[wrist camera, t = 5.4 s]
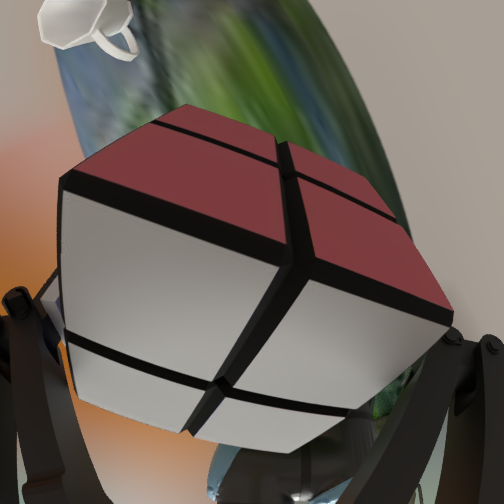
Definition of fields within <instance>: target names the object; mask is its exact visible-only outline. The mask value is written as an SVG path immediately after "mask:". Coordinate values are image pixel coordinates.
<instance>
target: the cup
mask: <svg viewBox="0 0 504 504" xmlns="http://www.w3.org/2000/svg"><path fill="white" fill-rule="evenodd" d="M133 16H134V14H133V10H132V6H131V2H130V1H127V0H44V3H43V5H42V7H41V9H40V11H39V13H38V15H37V20H38V25H39V31H40V36H41V41H42V42H44V43H47V44H50V45H52V46H55V47H57V48H60V49H62V50H63V49H67V48H70V47H74V46H77V45H81V44H85V43H89V42H93V41H95V42H96V43H97V44H98V45H99V46H100V47H101V48H102V49H103V50H104V51H105V52H106V53H108V54H110V55H111V56H113V57H115V58H117V59H120V60H124V61H132V60H133V59H134V58H135V57H136V56H137V55H139V54H140V50H139V47H138V44H137V42H136V39H135V37H134V35H133V34H132V32H131V30H130V29H129V28H128V27H127V26H128V24H129V22H130V21H131V19H132V17H133ZM119 32H121V33H122V34H123V35H124V37H125V39H126V41H127V43H128V46H129V48H130V51H131V53H130V52H127V51H124V50H122V49H120V48H119V47H117V46H115V45H114V44H113V43H112V42H110V41H109V39H108V38H107V37H106V36H112V35H115V34H117V33H119Z"/></svg>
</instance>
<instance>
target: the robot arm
mask: <svg viewBox="0 0 504 504" xmlns="http://www.w3.org/2000/svg"><path fill="white" fill-rule="evenodd" d="M2 304H3V306H4V308H5V309H6V312H7V313H8V315H6V316H1V315H0V504H19V494H18V480H17V432H18V438H19V443H20V448H21V453H22V457H23V461H24V466H25V470H26V474H27V482H26V483H25V484H23V486H22V495H23V499H24V502H25V504H114V503H113V502H112V501H111V500H110V499H109V498H108V496H107V495H106V494H105V492H104V490H103V488H102V486H101V483H100V481H99V479H98V476H97V474H96V471H95V469H94V466H93V464H92V461H91V458H90V456H89V453H88V450H87V448H86V445H85V442H84V439H83V436H82V433H81V430H80V427H79V424H78V420H77V417H76V413H75V410H74V406H73V403H72V399H71V395H70V391H69V388H68V383H67V379H66V374H65V370H64V365H63V360H62V355H61V351H60V349H59V347H58V344H59V342H60V340H62V342H63V343H64V345H65V339H64V332H63V329H64V327H65V325H64V322H63V320H62V316H61V308H60V297H59V285H58V269H57V268H56V269H55V271H54V272H53V273H52V275H51V277H50V278H49V279H48V280H47V281H46V283H45V284H44V285H43V287H42V288H41V289H40V291H39V292H38V293H37V295H36V296H35V298H34V299H33V300H32V298H31V296H30V294H29V291H28V289H27V288H25V287H23V286H19V287H15V288H13V289H11V290H10V291H9V292H8V293H6V294H5V296H4V297H3V299H2ZM65 346H66V345H65ZM411 367H412V369H411V371H410V372H409V374H408V375H407V376H406V378H405V379H404V381H403V382H402V385H403V387H402V389H401V392H400V394H399V396H398V398H397V400H396V402H395V404H394V406H393V408H392V410H391V412H390V414H389V416H388V418H387V420H386V422H385V424H384V426H383V428H382V430H381V431H380V433H379V435H378V437H377V434H376V429H375V424H374V418H373V408H374V401H375V396H374V397H373V398H371V399H370V400H369V401H367V402H366V403H365V404H363V405H362V406H361V407H359V408H358V409H352V411H351V412H350V414H349V415H348V416H347V417H346V418H345V419H343V420H342V421H340V422H339V423H337V424H336V425H334V426H333V427H331V428H330V429H328V430H327V431H325V432H324V433H322V434H320V435H319V436H317V437H316V438H314V439H312V440H311V441H309V442H307V443H306V444H304V445H302V446H301V447H299V448H297V449H296V450H294V451H292V452H290V453H279V452H271V451H263V450H256V449H250V448H243V447H238V446H232V445H227V444H221V443H219V444H218V446H217V447H216V450H215V452H214V455H213V457H212V461H211V464H210V468H209V474H208V479H207V484H208V486H207V495H208V497H209V498H210V499H212V500H214V501H217V504H294V502H298V501H309V502H308V504H408V503H409V501H410V499H411V497H412V495H413V493H414V491H415V490H416V487H417V485H418V483H419V481H420V479H421V477H422V475H423V473H424V471H425V468H426V466H427V464H428V461H429V459H430V457H431V454H432V451H433V449H434V447H435V444H436V442H437V439H438V436H439V434H440V431H441V428H442V425H443V422H444V420H445V416H446V413H447V410H448V407H449V411H448V424H447V434H446V442H445V451H444V457H443V464H442V470H441V476H440V481H439V486H438V491H437V496H436V500H435V504H504V344H503V343H502V341H501V340H500V339H498V338H497V337H496V336H494V335H491V334H486V335H484V336H483V337H482V338H481V340H480V341H479V343H478V342H473V341H468V340H464V338H463V336H462V334H461V333H460V332H459V331H458V330H457V329H456V328H454V327H452V326H451V328H450V329H449V330H448V331H447V332H446V333H445V334H444V335H443V336H442V337H441V338H440V339H439V340H438V341H437V342H436V343H435V344H434V345H433V346H432V347H431V348H430V349H429V350H428V351H427V352H426V353H425V354H423V355H422V356H421V357H420V358H419V359H418V360H417V361H416V362H415V363H414V364H412V365H411Z"/></svg>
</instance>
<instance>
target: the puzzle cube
mask: <svg viewBox="0 0 504 504" xmlns="http://www.w3.org/2000/svg"><path fill="white" fill-rule="evenodd" d="M57 269H58V285H59V297H60V308H61V316H62V320H63V322H64V325H65V327H64V329H63V332H64V339H65V345H66V351H67V356H68V362H69V367H70V372H71V377H72V381H73V386H74V390H75V392H76V394H77V396H78V398H79V399H81V400H83V401H85V402H87V403H90V404H92V405H95V406H97V407H100V408H102V409H105V410H107V411H110V412H112V413H115V414H118V415H121V416H123V417H126V418H129V419H132V420H135V421H138V422H141V423H144V424H147V425H151V426H154V427H157V428H160V429H164V430H167V431H171V432H174V433H178V434H179V433H181V432H182V431H184V430H186V429H188V431H189V432H190V433H191V435H192V436H193V437H194V438H199V439H203V440H207V441H212V442H217V443H221V444H227V445H232V446H238V447H243V448H250V449H256V450H263V451H271V452H279V453H290V452H292V451H294V450H296V449H297V448H299V447H301V446H302V445H304V444H306V443H307V442H309V441H311V440H312V439H314V438H316V437H317V436H319V435H320V434H322V433H324V432H325V431H327V430H328V429H330V428H331V427H333V426H334V425H336V424H337V423H339V422H340V421H342V420H343V419H345V418H346V417H347V416H348V415H349V414H350V412H351V411H352V409H358V408H359V407H361V406H362V405H363V404H365V403H366V402H367V401H369V400H370V399H371V398H373V397H374V396H375V395H376V394H378V393H379V392H380V391H382V390H383V389H384V388H385V387H387V386H388V385H389V384H390V383H391V382H393V381H394V380H395V379H396V378H397V377H399V376H400V375H401V374H402V373H403V372H404V371H406V370H407V369H408V368H409V367H410V366H411V365H412V364H414V363H415V362H416V361H417V360H418V359H419V358H420V357H421V356H422V355H423V354H425V353H426V352H427V351H428V350H429V349H430V348H431V347H432V346H433V345H434V344H435V343H436V342H437V341H438V340H439V339H440V338H441V337H442V336H443V335H444V334H445V333H446V332H447V331H448V330H449V329H450V328H451V325H452V322H453V314H454V310H453V308H452V307H451V305H450V303H449V302H448V300H447V298H446V296H445V294H444V292H443V291H442V289H441V287H440V285H439V284H438V282H437V280H436V279H435V277H434V275H433V274H432V272H431V270H430V269H429V267H428V266H427V264H426V262H425V261H424V259H423V258H422V256H421V254H420V253H419V251H418V250H417V249H416V247H415V245H414V244H413V242H412V241H411V239H410V238H409V236H408V235H407V233H406V232H405V230H404V229H403V227H401V226H400V225H398V224H397V220H396V217H395V216H394V215H393V213H392V212H391V210H390V209H389V208H388V206H387V205H386V204H385V202H384V201H383V200H382V198H381V197H380V196H379V195H378V193H377V192H376V191H375V189H374V188H373V187H372V186H371V184H370V183H369V182H368V180H367V179H366V178H365V177H363V176H361V175H359V174H357V173H355V172H353V171H351V170H349V169H347V168H345V167H343V166H341V165H339V164H337V163H335V162H333V161H331V160H329V159H326V158H324V157H322V156H320V155H318V154H316V153H313V152H311V151H309V150H307V149H305V148H302V147H300V146H298V145H295V144H293V143H291V142H288V141H285V142H282V143H280V144H278V143H277V141H276V138H275V136H274V135H272V134H269V133H267V132H264V131H262V130H259V129H257V128H254V127H251V126H249V125H246V124H243V123H241V122H238V121H235V120H233V119H230V118H227V117H224V116H221V115H219V114H216V113H213V112H210V111H207V110H204V109H201V108H198V107H195V106H191V105H188V104H185V105H183V106H181V107H179V108H177V109H175V110H173V111H170V112H168V113H166V114H164V115H162V116H161V117H159V118H157V119H155V120H153V121H151V122H148V123H146V124H145V125H143V126H141V127H139V128H137V129H135V130H134V131H132V132H130V133H128V134H126V135H125V136H123V137H121V138H119V139H118V140H116V141H114V142H113V143H111V144H109V145H108V146H106V147H104V148H103V149H101V150H100V151H98V152H96V153H95V154H93V155H92V156H90V157H89V158H87V159H85V160H84V161H83V162H81V163H79V164H78V165H76V166H75V167H74V168H72V169H71V170H69V171H68V172H67V173H65V174H64V175H63V176H61V177H60V178H59V186H58V202H57Z"/></svg>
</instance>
